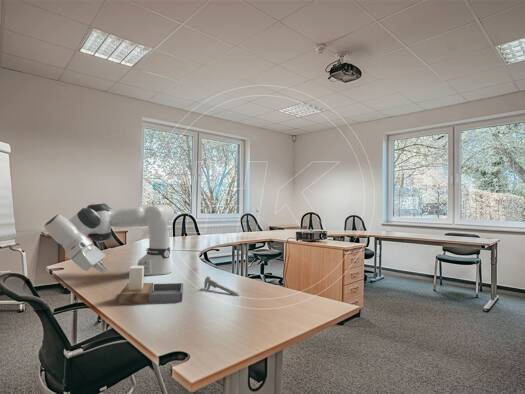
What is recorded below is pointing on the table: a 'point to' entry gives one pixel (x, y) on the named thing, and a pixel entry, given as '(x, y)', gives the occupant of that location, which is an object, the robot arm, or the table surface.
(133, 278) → the block
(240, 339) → the table surface
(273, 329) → the table surface
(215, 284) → the caliper
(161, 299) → the bin
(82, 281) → the table surface
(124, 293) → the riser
